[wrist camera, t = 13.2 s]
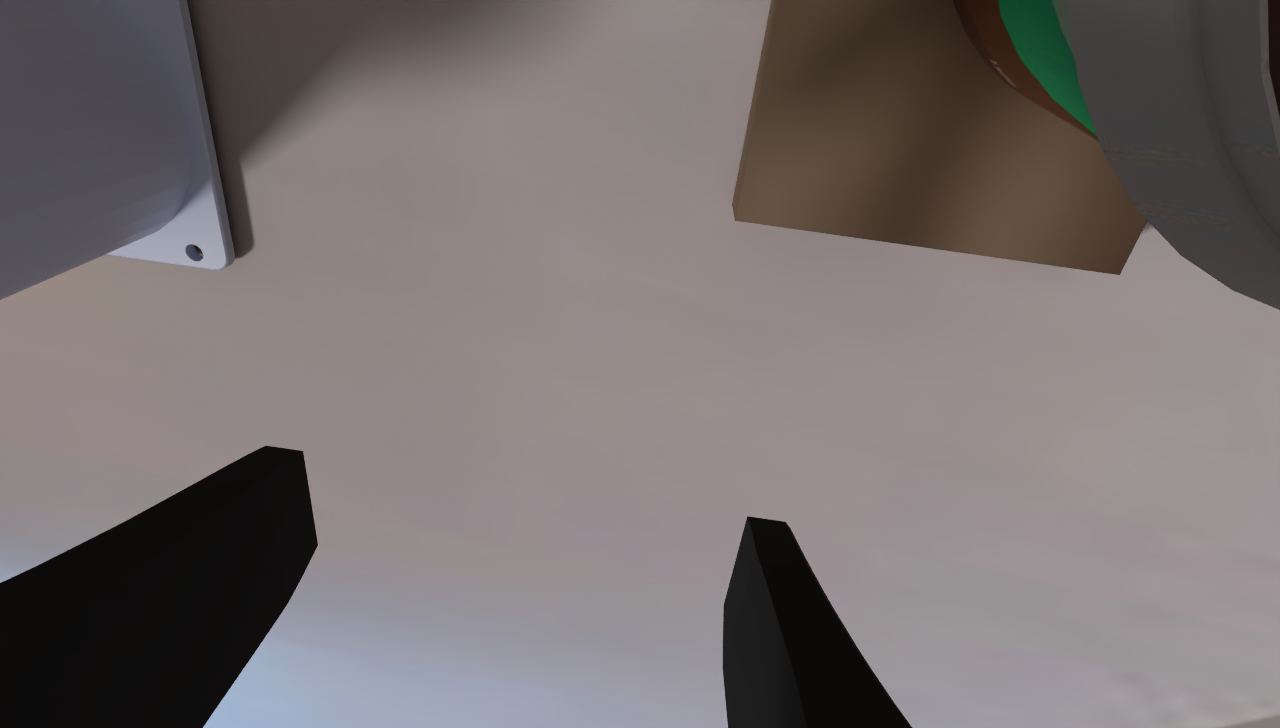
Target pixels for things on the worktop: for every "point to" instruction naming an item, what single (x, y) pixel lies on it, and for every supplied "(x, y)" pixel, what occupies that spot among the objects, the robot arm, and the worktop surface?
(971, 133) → the walnut base
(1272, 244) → the food container
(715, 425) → the worktop surface
